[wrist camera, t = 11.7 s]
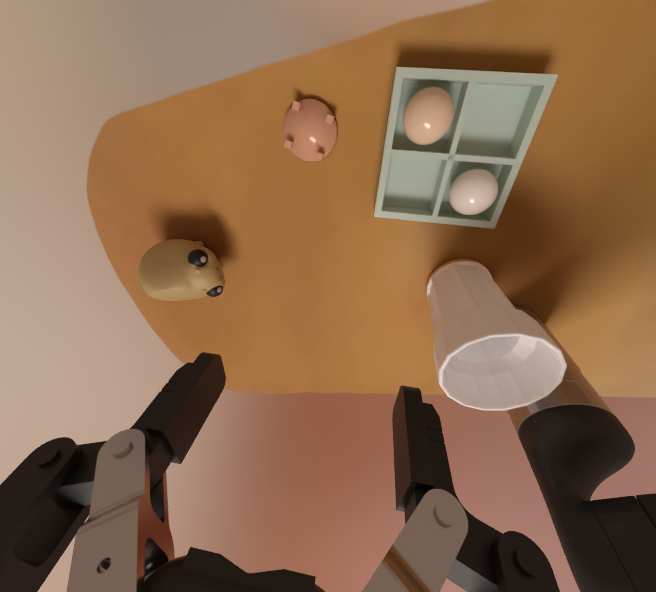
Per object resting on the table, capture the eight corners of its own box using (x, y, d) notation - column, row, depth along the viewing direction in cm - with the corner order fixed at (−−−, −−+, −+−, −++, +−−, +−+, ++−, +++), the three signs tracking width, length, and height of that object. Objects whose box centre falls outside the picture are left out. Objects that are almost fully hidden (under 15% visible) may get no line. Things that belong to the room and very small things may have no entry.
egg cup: (344, 111, 31) (343, 111, 30) (327, 168, 35) (325, 170, 34) (292, 90, 31) (288, 89, 30) (280, 150, 35) (276, 151, 33)
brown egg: (455, 90, 28) (467, 85, 24) (441, 144, 31) (450, 148, 27) (406, 87, 29) (410, 82, 25) (397, 141, 32) (399, 145, 28)
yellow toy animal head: (246, 280, 47) (216, 319, 38) (186, 284, 49) (144, 321, 41) (226, 225, 42) (185, 254, 33) (160, 232, 44) (106, 261, 35)
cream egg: (499, 174, 32) (516, 183, 28) (473, 213, 35) (485, 227, 31) (460, 158, 32) (472, 165, 28) (437, 200, 35) (445, 211, 30)
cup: (470, 234, 37) (529, 311, 23) (515, 288, 40) (590, 384, 26) (403, 282, 42) (415, 368, 28) (446, 326, 46) (477, 423, 31)
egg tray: (542, 78, 27) (558, 74, 25) (486, 220, 35) (494, 229, 33) (395, 70, 29) (396, 66, 26) (374, 209, 37) (373, 216, 34)
